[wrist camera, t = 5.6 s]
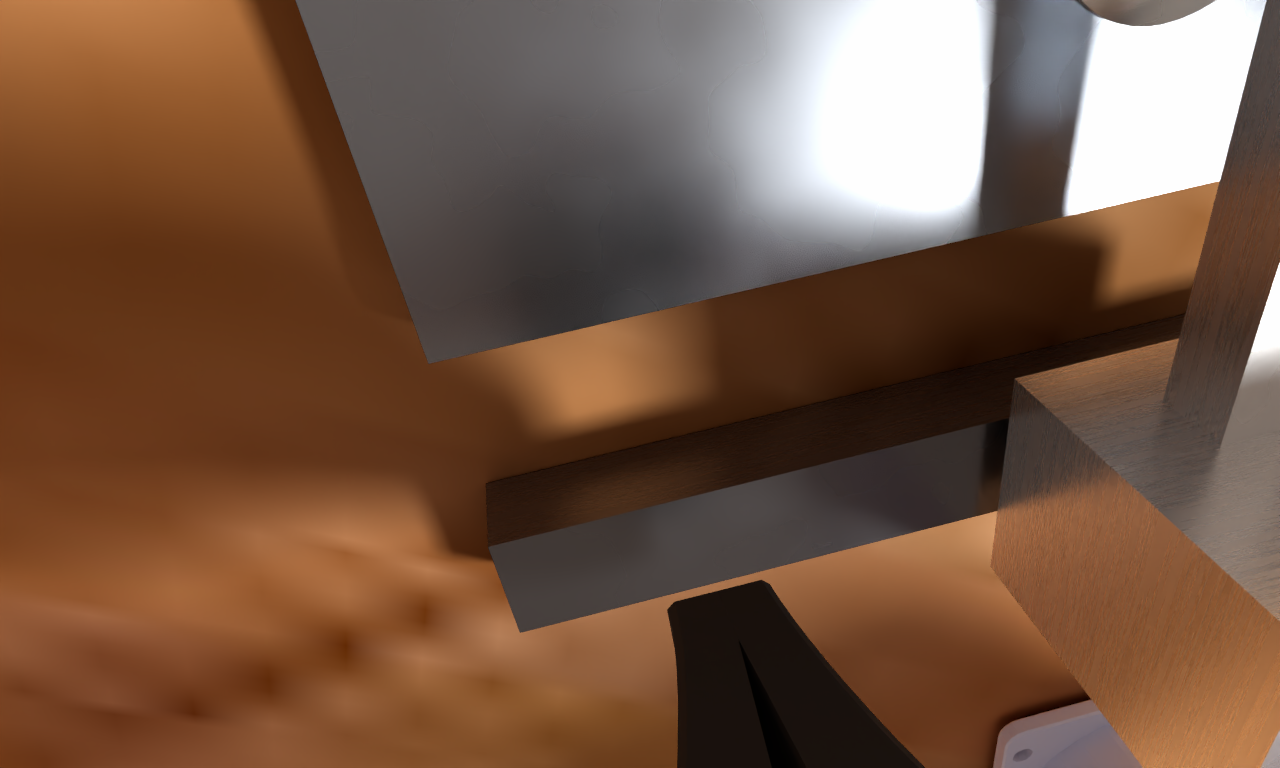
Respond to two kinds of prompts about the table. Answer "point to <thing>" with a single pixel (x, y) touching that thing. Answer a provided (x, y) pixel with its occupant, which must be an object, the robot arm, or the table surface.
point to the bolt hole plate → (748, 137)
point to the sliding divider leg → (1170, 489)
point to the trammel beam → (766, 488)
